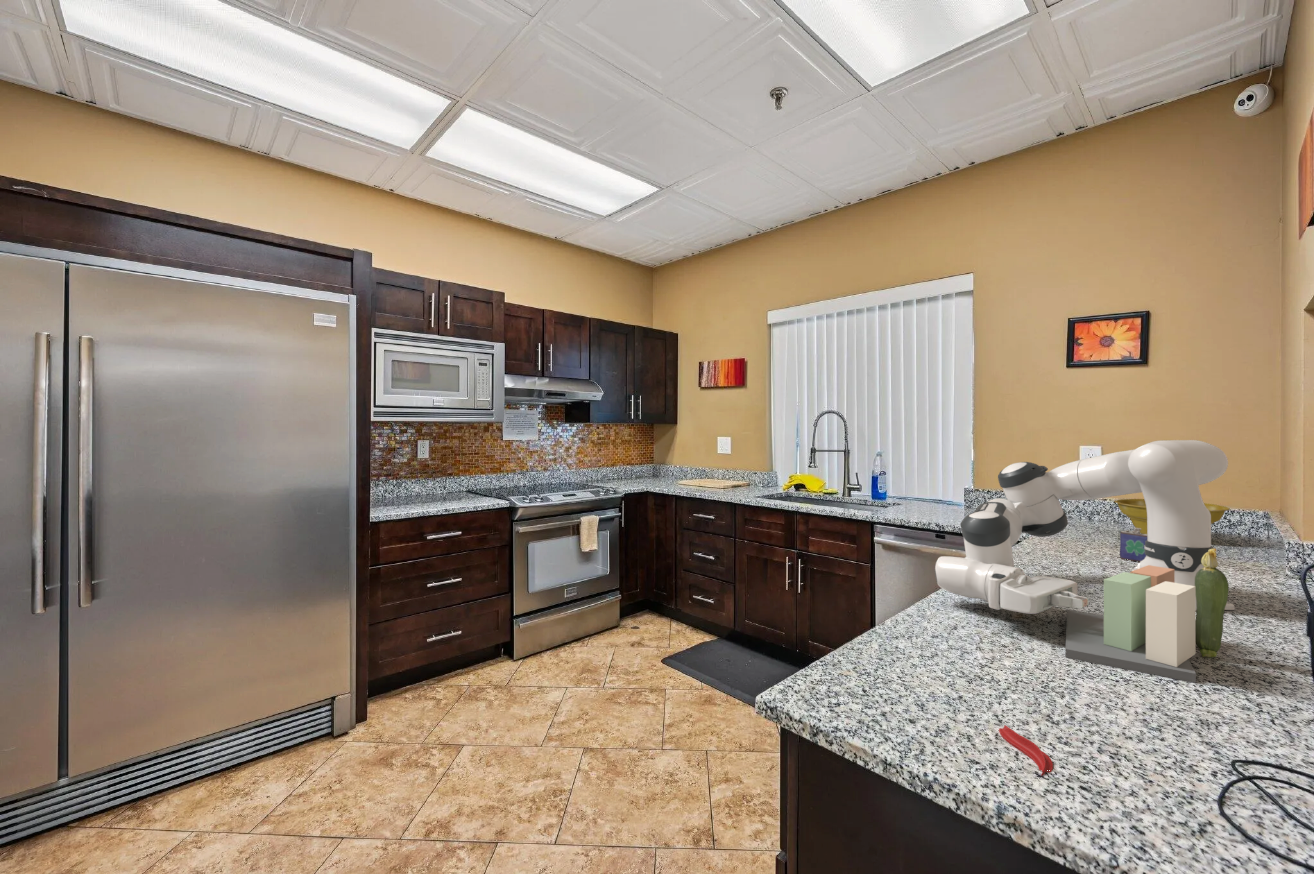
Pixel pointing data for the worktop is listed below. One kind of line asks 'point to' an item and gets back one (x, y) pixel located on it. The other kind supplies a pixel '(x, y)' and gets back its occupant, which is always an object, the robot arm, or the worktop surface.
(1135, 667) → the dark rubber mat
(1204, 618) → the vegetable
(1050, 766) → the cayenne pepper
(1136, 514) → the planter bowl
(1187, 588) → the cream block
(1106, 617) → the sage green block
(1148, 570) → the terracotta block
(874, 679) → the worktop surface
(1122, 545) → the flask
